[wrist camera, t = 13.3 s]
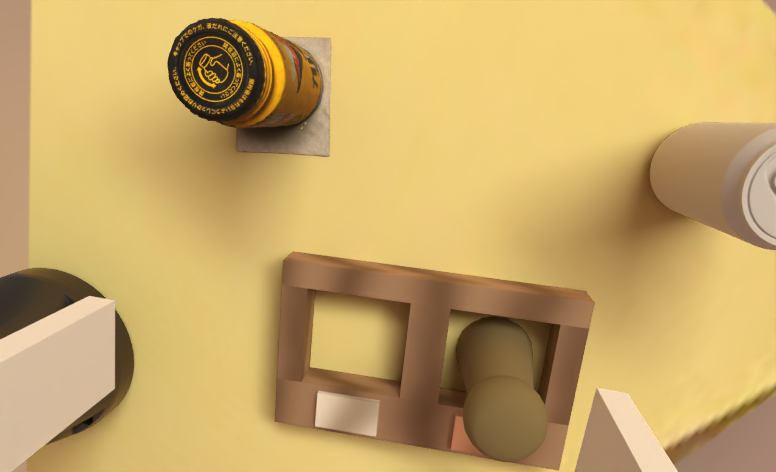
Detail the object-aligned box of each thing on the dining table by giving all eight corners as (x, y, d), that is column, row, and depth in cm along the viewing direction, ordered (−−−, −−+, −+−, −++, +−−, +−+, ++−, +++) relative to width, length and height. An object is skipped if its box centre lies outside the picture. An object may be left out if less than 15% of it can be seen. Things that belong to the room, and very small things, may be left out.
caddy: (284, 405, 44) (273, 424, 41) (293, 251, 41) (281, 261, 38) (552, 450, 42) (559, 473, 39) (585, 291, 38) (595, 304, 36)
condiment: (331, 38, 37) (273, 1, 25) (330, 155, 39) (276, 171, 27) (235, 36, 38) (137, -1, 26) (239, 150, 40) (149, 164, 28)
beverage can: (687, 231, 36) (795, 283, 25) (625, 169, 36) (705, 194, 25) (763, 166, 35) (916, 191, 23) (699, 101, 34) (822, 93, 23)
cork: (484, 398, 42) (493, 495, 31) (441, 342, 41) (435, 420, 30) (547, 361, 40) (580, 449, 29) (504, 302, 39) (521, 370, 29)
